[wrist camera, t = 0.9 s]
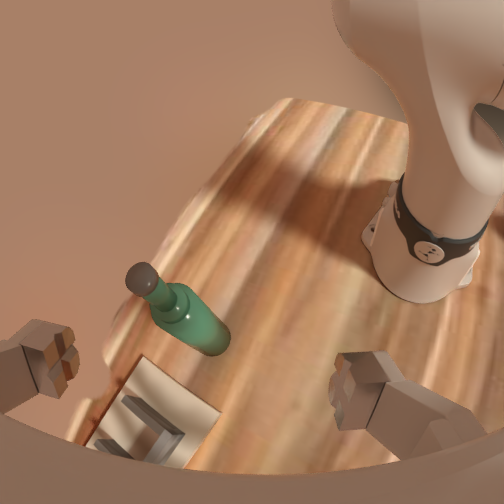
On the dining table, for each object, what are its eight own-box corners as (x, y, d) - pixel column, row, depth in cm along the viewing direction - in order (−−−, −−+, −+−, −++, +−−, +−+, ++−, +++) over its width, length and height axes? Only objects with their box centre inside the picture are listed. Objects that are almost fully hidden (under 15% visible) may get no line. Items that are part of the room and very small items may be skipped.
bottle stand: (147, 358, 42) (128, 349, 37) (222, 413, 36) (209, 412, 32) (87, 451, 35) (65, 451, 31) (150, 511, 29) (131, 519, 25)
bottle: (208, 314, 43) (138, 241, 27) (237, 331, 41) (178, 264, 24) (188, 344, 42) (104, 287, 25) (217, 363, 40) (141, 317, 23)
